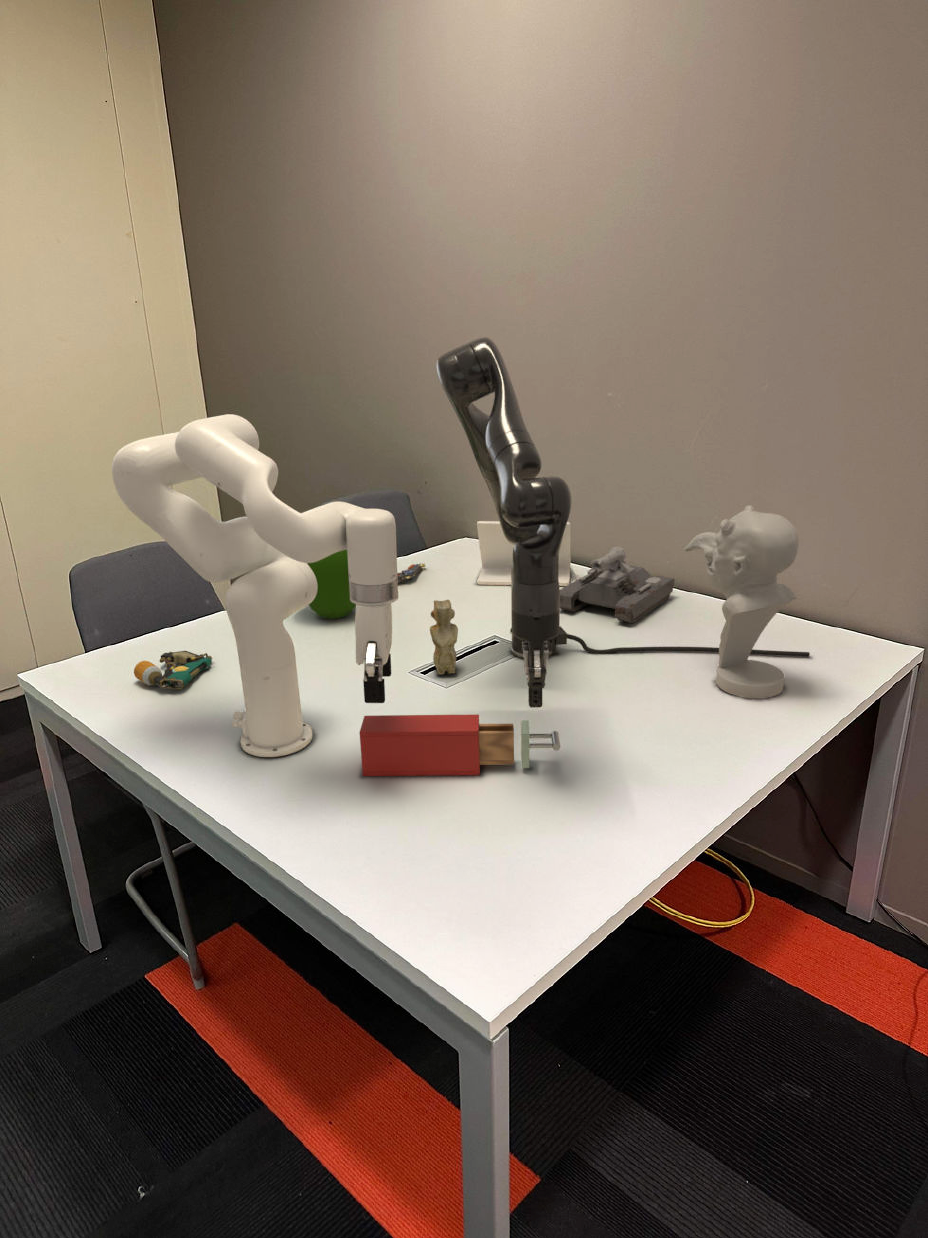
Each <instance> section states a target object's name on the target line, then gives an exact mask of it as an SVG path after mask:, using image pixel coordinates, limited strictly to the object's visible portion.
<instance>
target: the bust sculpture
mask: <svg viewBox="0 0 928 1238" xmlns="http://www.w3.org/2000/svg"><path fill="white" fill-rule="evenodd" d="M719 528H720V529H719V531H718V532H713V531H705V532H701V533H699V534H697V535H695V536H694V537H693V538H692V539H691V541H690V542H689V543H688V544H687V545H686V546H685V547H684V551H685V552H692V551H696V550H702V551H703V553H704V557H705V559H706V560H707V561H708V562H707V563H706V564H705V570H706V573H707V576H708V577H709V580H710V581H711V583H712V586H714V588H715V589H717V591H719V592H720V593H721V594H722V595H723V596H724V597H726V600H725V601H724V602H723V604H722V606H721V611H722V615H723V617H724V619H725V622H724V625H723V627H722V631H721V633H720V642H719V645H718V646H719V647H718V648H719V652H718V666H717V668H716V675H715V684H716V685H717V687H718V688H720V690H722V691H723V692H726V693H728V694H731V695H733V696H737V697H740V698H741V697H742V698H748V699H766V698H771V697H775V696H778V695H779V694H781V693H782V692H783V690H784V686H785V685H784V684H785V673H784V672H783V670H782V669H780V668H779V667H777V666H775V665H773V664H771V663H768V662H765V661H760V660H754V659H749V657H750V655H751V654H750V653H751V651H752V649H753V650H754V647H755V645H756V643H757V642H758V640H759V638H760V637H761V634H762V633H763V632H764V631H765V628H766V627H768V624H769V623H770V622H771V620H772V619H773V618H774V617H775V616H776V615H777V614H778V613H779V612H780V611H781V610H782V609H783V608H784V607H786V606H787V605H788V604H790V603H791V602H792V601H795V600H797V599H798V597H797V595H796V594H795V592H794V591H793V590H792V588H791V587H789V586H788V585H786V584H782V583H779V582H778V581H777V580H778V576H777V575H779V574H781V573H783V572H785V571H786V570H788V569H789V568H790V567H791V566H792V565H793V563H794V562H795V560H796V558H797V556H798V551H799V535H798V532H797V530H796V527H795V525H793V524H792V522H791V521H790V520H789V519H787V518H786V517H784V516H783V515H781V514H777V513H770V512H760V511H756V510H755V508H754V506H753V505H746V506H745V507H744V509H743V510H742V511H740V512H739V513H737V514H735V515H733V516H732V517H731V518H730V519H728V518H725V519H723V520H721V521H720V525H719Z"/></svg>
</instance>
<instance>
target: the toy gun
mask: <svg viewBox="0 0 928 1238" xmlns="http://www.w3.org/2000/svg"><path fill="white" fill-rule="evenodd" d="M425 567H426V563H424V562H423V563H416V564H414V563H413V564H410V565H409V566H408V567H407V569H405V570H401V572H397V578H398V583H399V582H402V581H405V580H409V579H413V577H415V576H417V575H418V572H420V570H423V568H425Z"/></svg>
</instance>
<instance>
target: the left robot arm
mask: <svg viewBox="0 0 928 1238" xmlns="http://www.w3.org/2000/svg"><path fill="white" fill-rule="evenodd" d="M259 438H260V437H259V434H258V432H257V430H256V428H255V426H254V425H252V423H251V422H250V421H248V419H247V418H244V417H243V416H241V415H238V414H230V413H227V414H222V415H217V416H212V417H205V418H200V419H195V420H193V421H191V422H188V423H187V424H186V425H184V426H183V427H182V428H181V429H180V430H179V431H175V432H170V433H164V434H160V435H155V436H150V437H145V438H141V439H138V440H135V441H133V442H130V443H127V444H126V445H124V446H123V447H121V448H120V449H119V450H118V451H117V452H116V454H115V455H114V457H113V460H112V463H111V474H112V480H113V485H114V487H115V490H116V492H117V494H118V496H119V498H120V500H121V501H122V502H123V504H124V505H125V507H126V508H127V509H128V510H129V511H130V512H131V513H132V514H133V515H134V516H136V517H137V518H138V519H139V520H140V521H141V522H143V523H144V524H146V525H147V526H148V527H149V528H150V529H152V530H153V531H154V532H156V533H157V534H158V535H159V536H160V537H161V538H162V539H163V540H164V541H165V542H166V544H168V546H169V547H170V548H172V549H173V550H174V551H175V552H176V553H177V555H179V557H181V559H182V560H184V561H185V562H186V563H187V565H188V566H190V568H192V570H194V571H195V573H197V574H198V575H199V576H200V577H201V578H203V580H205V581H207V582H209V583H212V584H221V583H225V582H227V581H230V580H233V579H236V578H237V579H236V580H234V582H232V584H231V585H230V586H229V587H228V589H227V591H226V594H225V598H224V604H225V611H226V614H227V617H228V620H229V623H230V625H231V628H232V631H233V635H234V639H235V643H236V650H237V656H238V663H239V671H240V678H241V685H242V692H243V701H244V708H245V709H244V710H245V711H242V710H235V711H234V712H233V716H232V718H233V719H232V721H231V724H230V725H231V727H233V728H239V729H240V728H241V729H242V731H243V733H242V735H241V737H240V746H241V748H242V750H243V751H244V752H245V753H248V754H249V755H252V756H254V757H260V758H276V757H283V756H288V755H291V754H294V753H296V752H299V751H301V750H302V749H304V748H306V747H307V746H308V745H309V744H310V743H311V741H312V739H313V735H314V734H313V728H312V727H311V725H309V724H308V723H306V722H305V721H303V715H302V706H301V704H302V703H301V697H300V687H299V676H298V669H297V668H298V667H297V658H296V650H295V645H294V641H293V639H292V637H291V635H290V634H289V632H288V631H287V629H286V627H285V625H284V621H285V620H286V619H287V618H289V617H290V616H292V615H294V614H295V613H298V612H300V611H301V610H303V609H305V608H306V607H309V604H310V603H311V602H312V601H313V600H314V598H315V597H316V594H317V589H318V585H317V580H316V577H315V575H314V573H313V571H312V569H311V568H310V567H309V565H308V564H307V563H313V562H317V561H319V560H322V559H324V558H326V557H328V556H330V555H332V554H334V553H336V552H340V551H343V550H346V549H347V555H348V572H349V590H350V601H351V602H352V603H354V604H356V607H355V615H354V617H355V619H354V622H355V623H354V627H355V628H354V629H355V631H354V632H355V663H356V664H357V665H358V666H361V665H363V667H364V668H363V680H362V681H363V698H364V699H363V700H364V703H366V704H384V703H386V687H385V677H386V678H387V677H388V678H389V677H391V676H392V656H391V653H390V652H391V649H392V641H393V609H392V604H393V603H395V602H396V601H398V599H399V582H398V578H397V573H398V554H397V553H398V551H397V549H398V548H397V526H396V524H397V523H396V518H395V516H394V514H393V513H392V512H390V511H389V510H386V509H382V508H364V507H362V506H358V505H355V504H352V503H350V502H345V501H331V502H327V503H326V504H323V505H319V506H316V507H313V508H312V509H308V510H306V511H303V512H299V511H297V510H296V509H294V508H292V507H291V506H289V505H288V504H286V503H285V502H283V501H282V500H281V499H279V498H278V497H277V496H276V495H275V494H274V493H273V492H274V490H275V488H276V485H277V482H278V478H279V468H278V465H277V463H276V462H275V460H273V459H272V458H271V457H270V456H267V455H265V453H263V452H261V451H259V449H260V439H259ZM200 478H203V479H205V480H206V481H207V482H209V483H211V484H212V485H213V486H215V487H217V489H219V490H221V491H223V492H224V493H226V494H227V495H229V496H230V497H231V498H232V499H235V500H236V501H238V502H239V503H240V504H242V506H243V510H244V514H245V516H240V517H237V518H236V517H235V518H233V519H229V520H227V521H219V520H218V519H217V518H215V517H214V516H212V514H210V513H209V512H208V511H207V510H206V509H205V508H204V507H203V506H202V505H201V504H200V503H199V502H197V501H196V500H195V499H193V498H191V497H190V496H188V495H186V494H183V493H181V492H180V491H177V490H175V489H173V488H172V487H170V486H174V485H178V484H181V483H185V482H189V481H192V480H196V479H200ZM238 577H239V578H238ZM383 677H384V678H383Z"/></svg>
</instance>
